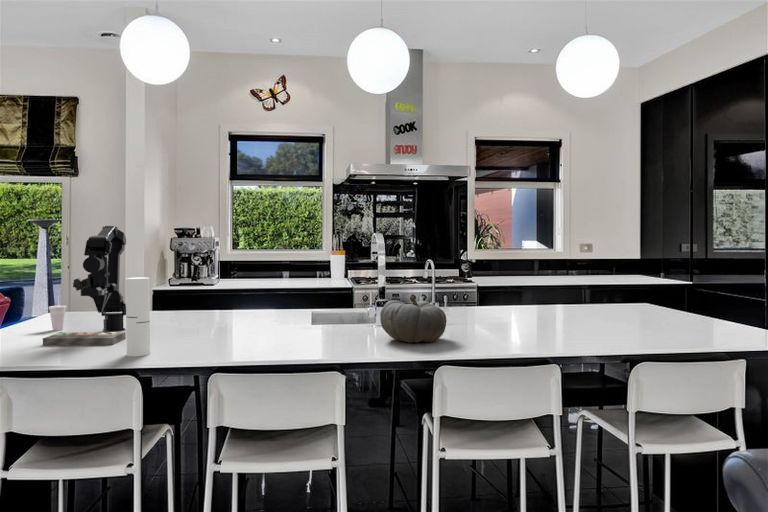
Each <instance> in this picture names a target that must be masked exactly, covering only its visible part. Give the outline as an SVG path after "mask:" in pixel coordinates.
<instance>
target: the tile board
mask: <svg viewBox="0 0 768 512" xmlns="http://www.w3.org/2000/svg"><path fill="white" fill-rule="evenodd" d="M94 332H95V331H94ZM103 332H104V331H103ZM103 332H102V331H101V332H100V331H99V332H98V331H97V332H95V335H93V336H90V337H75V334H78V333H79V332H73V335H70V336H68V337H52V335H53V334H51V335H49V336H46V337H43V338H42V346H43V347H44V346H45V347H46V346H111V345H115V344H118V343H121V342H122V341H124V340H127V336H126V331H117V332H118V334H117V335H115V336H98V334H100V333H103Z"/></svg>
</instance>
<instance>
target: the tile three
mask: <svg viewBox="0 0 768 512" xmlns="http://www.w3.org/2000/svg"><path fill="white" fill-rule="evenodd" d="M118 332H119V331H111V332H109V331H103V333H100V334H98V336H115V335H117V334H118Z"/></svg>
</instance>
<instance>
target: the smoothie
mask: <svg viewBox="0 0 768 512" xmlns="http://www.w3.org/2000/svg"><path fill="white" fill-rule="evenodd" d="M66 310H67V305H60V295H57V305H51V306H48V311H49V315H50V321H51V327H52V328H51V329H52V331H55V332H56V331H63V330H64V327H65V326H64V325H65V324H64V323H65V315H66Z"/></svg>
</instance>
